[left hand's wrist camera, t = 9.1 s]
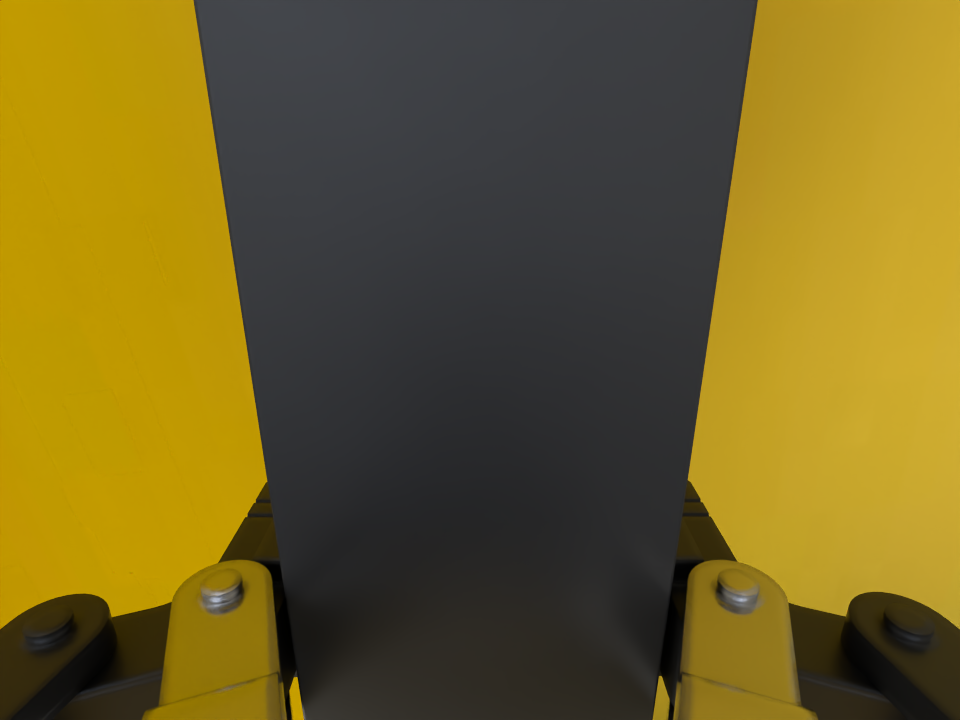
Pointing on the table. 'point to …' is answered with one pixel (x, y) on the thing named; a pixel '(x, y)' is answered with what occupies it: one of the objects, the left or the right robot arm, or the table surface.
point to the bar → (476, 331)
